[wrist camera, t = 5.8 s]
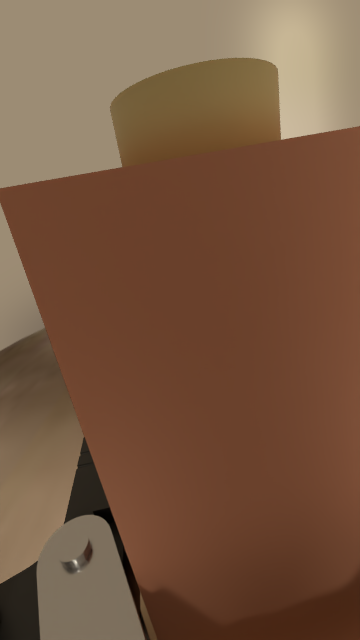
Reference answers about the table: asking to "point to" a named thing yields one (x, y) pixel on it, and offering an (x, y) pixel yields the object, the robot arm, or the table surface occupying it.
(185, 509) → the salmon block with knob
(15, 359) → the table surface
